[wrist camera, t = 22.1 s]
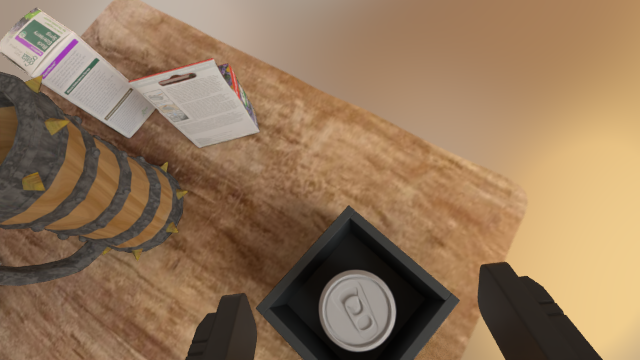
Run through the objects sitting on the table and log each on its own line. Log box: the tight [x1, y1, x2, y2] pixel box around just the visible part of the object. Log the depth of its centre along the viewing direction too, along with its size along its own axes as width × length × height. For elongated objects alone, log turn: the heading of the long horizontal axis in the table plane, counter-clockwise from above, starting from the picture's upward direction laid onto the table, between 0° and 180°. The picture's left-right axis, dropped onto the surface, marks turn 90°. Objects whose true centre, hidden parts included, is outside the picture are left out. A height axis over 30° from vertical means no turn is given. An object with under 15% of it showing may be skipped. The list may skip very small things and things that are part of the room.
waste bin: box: [256, 206, 460, 360], centre depth 32 cm, size 12×12×9 cm
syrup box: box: [0, 8, 156, 138], centre depth 38 cm, size 6×6×14 cm
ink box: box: [128, 58, 260, 148], centre depth 36 cm, size 4×8×15 cm, turn 104°
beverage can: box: [318, 269, 397, 352], centre depth 29 cm, size 6×6×12 cm
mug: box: [0, 72, 188, 286], centre depth 31 cm, size 13×17×20 cm
